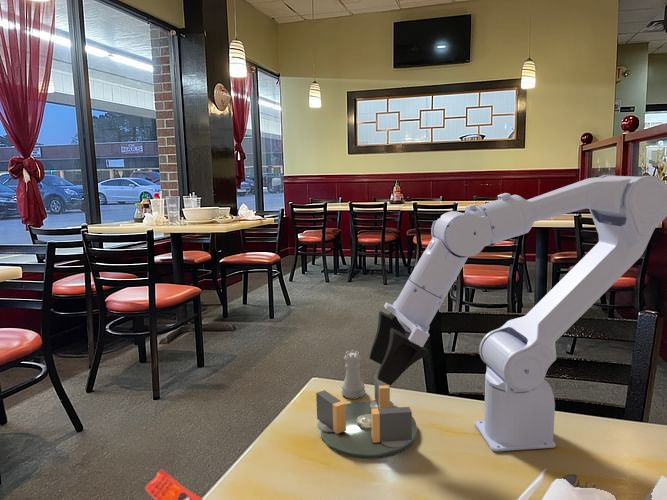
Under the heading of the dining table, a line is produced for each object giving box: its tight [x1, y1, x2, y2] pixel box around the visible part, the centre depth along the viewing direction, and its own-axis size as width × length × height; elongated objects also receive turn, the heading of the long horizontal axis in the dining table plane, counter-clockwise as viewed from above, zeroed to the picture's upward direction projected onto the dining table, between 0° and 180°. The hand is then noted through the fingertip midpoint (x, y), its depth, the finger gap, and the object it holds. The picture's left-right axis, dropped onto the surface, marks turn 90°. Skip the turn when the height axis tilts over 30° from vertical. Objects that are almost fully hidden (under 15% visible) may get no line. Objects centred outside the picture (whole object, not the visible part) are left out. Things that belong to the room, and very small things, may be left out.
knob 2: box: [371, 406, 413, 448], centre depth 73 cm, size 6×4×5 cm
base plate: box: [320, 401, 417, 460], centre depth 78 cm, size 15×15×2 cm
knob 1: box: [315, 390, 346, 434], centre depth 77 cm, size 6×4×5 cm
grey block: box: [370, 373, 395, 409], centre depth 83 cm, size 6×4×5 cm
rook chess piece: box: [340, 349, 366, 400], centre depth 91 cm, size 4×4×8 cm
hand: (379, 370), depth 72 cm, fingers open, 7 cm apart
